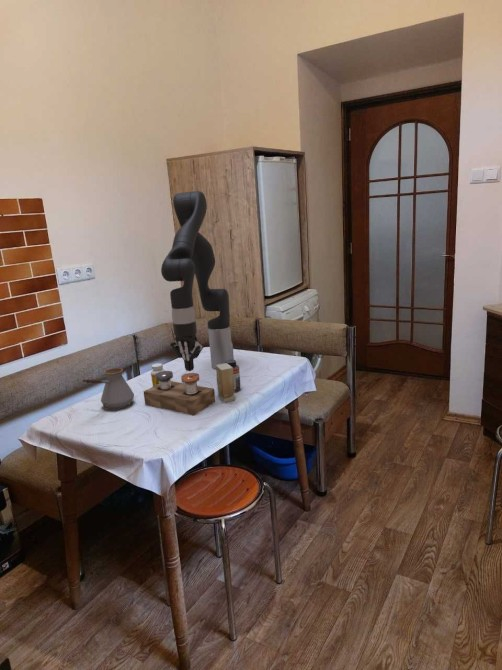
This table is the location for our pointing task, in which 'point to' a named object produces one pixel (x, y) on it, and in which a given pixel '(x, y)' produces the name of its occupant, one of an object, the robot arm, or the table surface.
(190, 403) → the socket board
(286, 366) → the table surface
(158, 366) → the supplement bottle
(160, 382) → the plug grey
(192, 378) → the plug rust
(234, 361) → the supplement bottle
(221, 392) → the skincare box
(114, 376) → the coffee pot
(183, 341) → the robot arm
